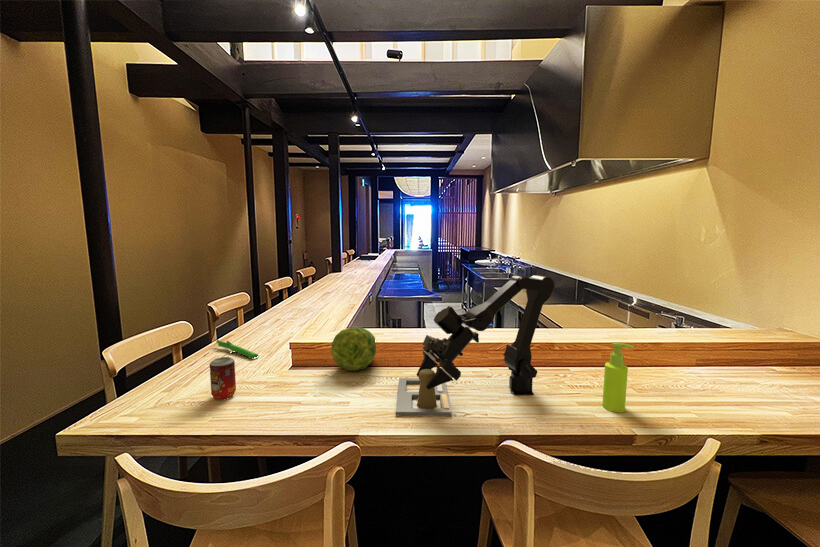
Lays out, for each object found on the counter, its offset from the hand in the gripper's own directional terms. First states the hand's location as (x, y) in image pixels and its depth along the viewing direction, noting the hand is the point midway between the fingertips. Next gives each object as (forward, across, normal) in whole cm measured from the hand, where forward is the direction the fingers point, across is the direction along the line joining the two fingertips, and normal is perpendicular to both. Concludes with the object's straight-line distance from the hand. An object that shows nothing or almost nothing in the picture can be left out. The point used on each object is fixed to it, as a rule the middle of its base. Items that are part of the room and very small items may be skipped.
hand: (422, 381), depth 106 cm
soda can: (+47, -24, -36) cm, 64 cm away
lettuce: (+15, -40, -4) cm, 43 cm away
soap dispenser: (-34, +18, +45) cm, 59 cm away
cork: (+4, 0, +7) cm, 8 cm away
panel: (+4, -6, +7) cm, 10 cm away
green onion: (+51, -69, -40) cm, 95 cm away
